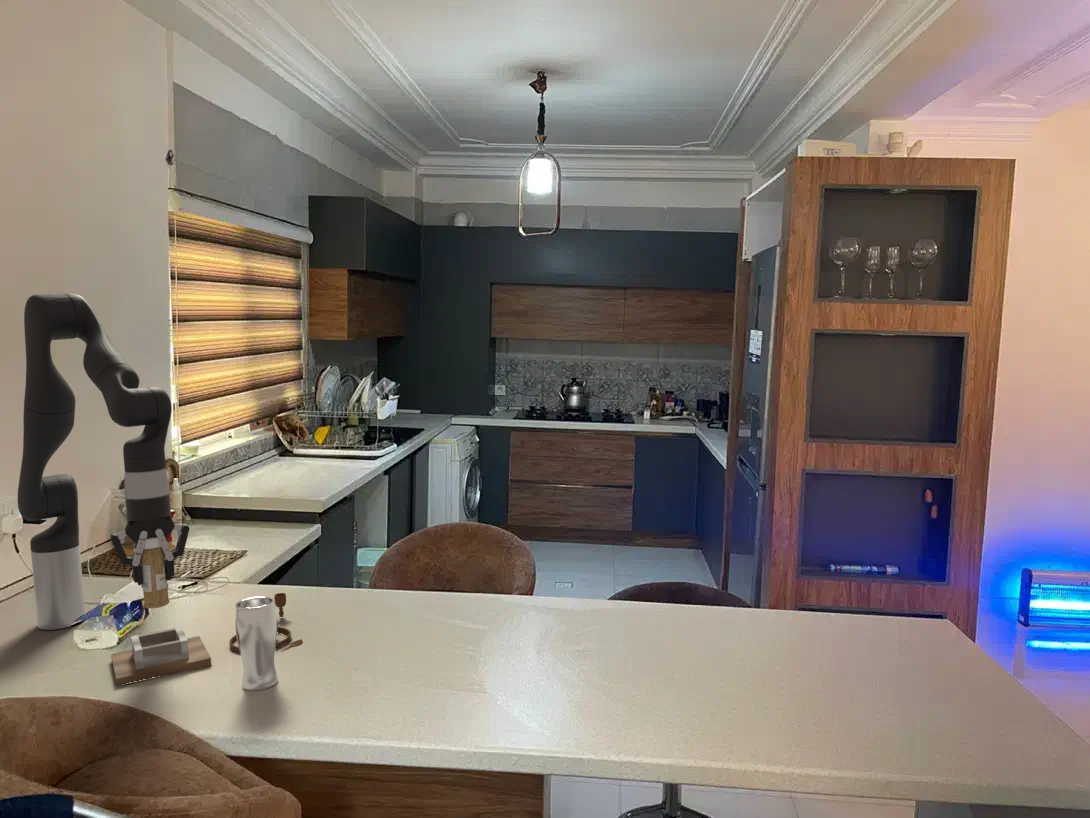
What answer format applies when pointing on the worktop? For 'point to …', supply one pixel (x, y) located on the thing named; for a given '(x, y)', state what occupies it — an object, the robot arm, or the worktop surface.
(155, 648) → the socket
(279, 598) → the place setting
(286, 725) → the worktop surface
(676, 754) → the worktop surface
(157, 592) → the sprinkles bottle
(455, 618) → the worktop surface
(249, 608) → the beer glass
